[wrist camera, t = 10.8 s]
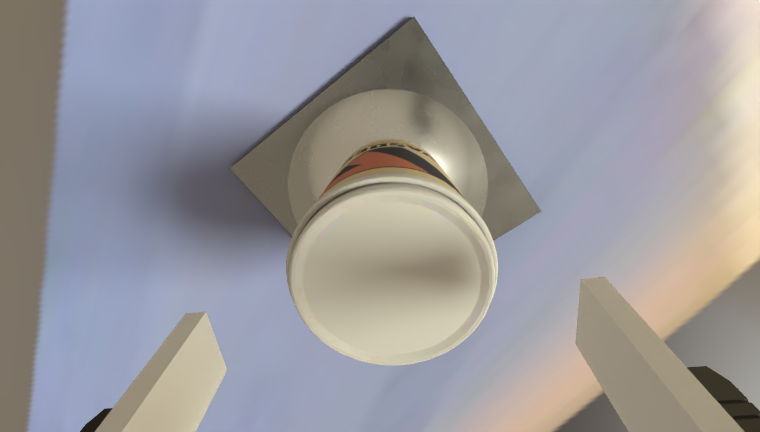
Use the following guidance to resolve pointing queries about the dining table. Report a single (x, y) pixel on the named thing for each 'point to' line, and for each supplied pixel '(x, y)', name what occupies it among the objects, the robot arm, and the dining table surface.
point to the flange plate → (387, 136)
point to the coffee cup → (391, 259)
